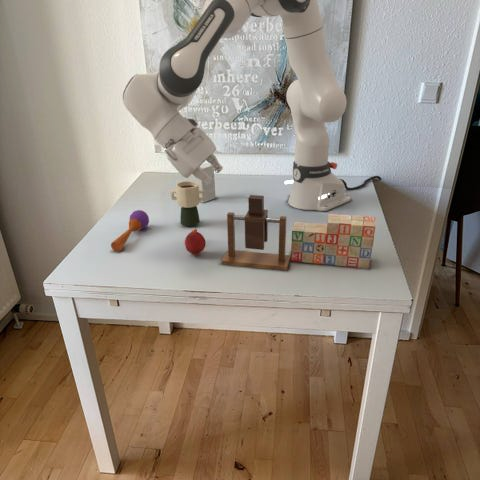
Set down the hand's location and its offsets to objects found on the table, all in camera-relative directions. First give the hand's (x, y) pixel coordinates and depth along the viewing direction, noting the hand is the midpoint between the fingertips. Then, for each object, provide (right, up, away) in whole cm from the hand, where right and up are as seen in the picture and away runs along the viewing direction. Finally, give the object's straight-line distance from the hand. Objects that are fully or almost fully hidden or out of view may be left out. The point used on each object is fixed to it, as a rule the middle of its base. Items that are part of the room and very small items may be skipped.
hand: (215, 176), depth 126 cm
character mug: (-10, -6, +32) cm, 34 cm away
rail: (+11, -21, +9) cm, 25 cm away
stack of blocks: (+31, -21, +9) cm, 38 cm away
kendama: (-27, -12, +24) cm, 38 cm away
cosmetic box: (-6, +6, +50) cm, 51 cm away
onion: (-6, -19, +13) cm, 24 cm away
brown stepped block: (+11, -16, +7) cm, 21 cm away
